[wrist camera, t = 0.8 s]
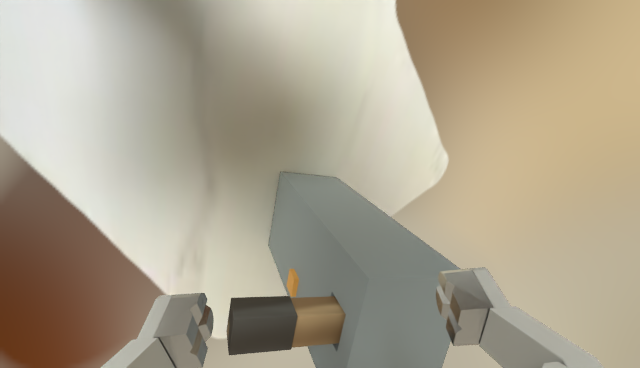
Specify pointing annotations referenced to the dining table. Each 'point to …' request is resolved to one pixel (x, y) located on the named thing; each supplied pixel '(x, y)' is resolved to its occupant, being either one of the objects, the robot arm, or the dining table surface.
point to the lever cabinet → (359, 274)
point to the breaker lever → (282, 323)
